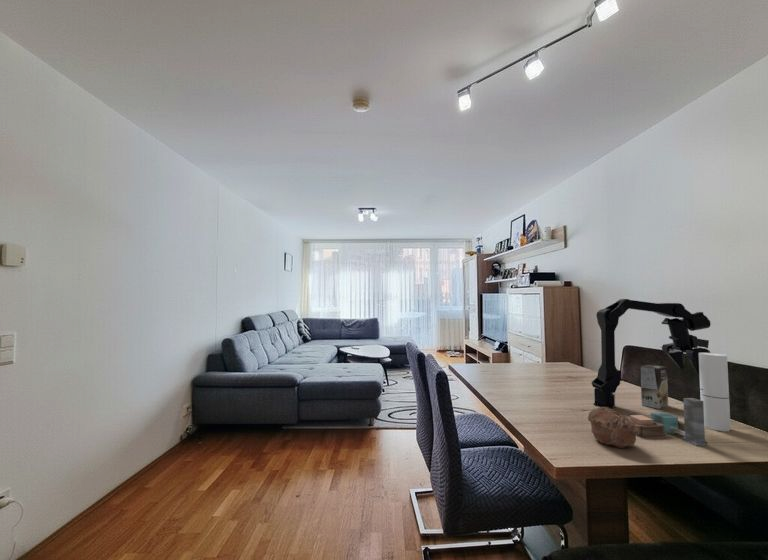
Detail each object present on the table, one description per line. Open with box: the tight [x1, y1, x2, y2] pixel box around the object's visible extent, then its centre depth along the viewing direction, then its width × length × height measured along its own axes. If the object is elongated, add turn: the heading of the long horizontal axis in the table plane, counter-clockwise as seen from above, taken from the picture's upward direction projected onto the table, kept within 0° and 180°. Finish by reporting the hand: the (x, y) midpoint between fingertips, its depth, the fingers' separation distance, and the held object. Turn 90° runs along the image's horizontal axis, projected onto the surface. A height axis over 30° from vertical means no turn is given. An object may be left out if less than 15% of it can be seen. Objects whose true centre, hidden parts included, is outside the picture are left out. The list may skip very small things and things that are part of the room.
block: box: [629, 414, 654, 425], centre depth 113 cm, size 4×4×4 cm
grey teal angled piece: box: [650, 397, 709, 446], centre depth 109 cm, size 14×5×13 cm, turn 6°
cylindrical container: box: [698, 352, 732, 432], centre depth 117 cm, size 7×7×25 cm
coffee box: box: [640, 364, 669, 410], centre depth 141 cm, size 9×6×16 cm
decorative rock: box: [587, 406, 639, 449], centre depth 103 cm, size 13×11×10 cm
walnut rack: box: [635, 420, 685, 437], centre depth 113 cm, size 8×18×3 cm, turn 96°
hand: (690, 371), depth 137 cm, fingers open, 9 cm apart
